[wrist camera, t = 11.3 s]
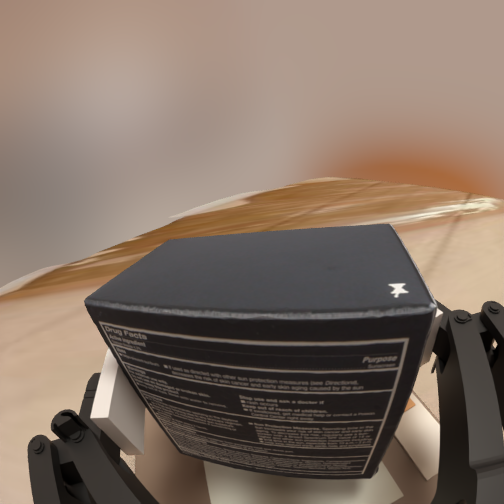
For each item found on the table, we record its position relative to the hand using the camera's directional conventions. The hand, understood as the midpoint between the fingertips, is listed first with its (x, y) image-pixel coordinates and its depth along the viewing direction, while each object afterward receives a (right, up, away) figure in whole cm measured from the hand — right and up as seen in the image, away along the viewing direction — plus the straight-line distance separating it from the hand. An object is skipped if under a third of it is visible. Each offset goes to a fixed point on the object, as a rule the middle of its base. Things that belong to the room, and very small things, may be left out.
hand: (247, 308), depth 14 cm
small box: (+2, -7, -1) cm, 7 cm away
